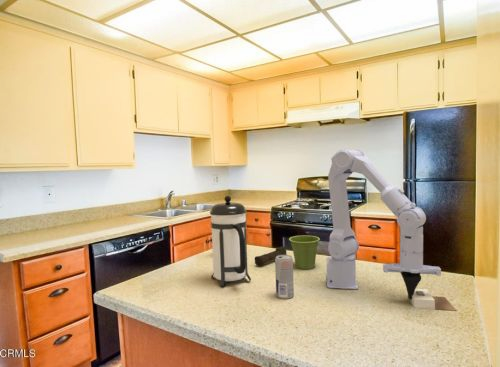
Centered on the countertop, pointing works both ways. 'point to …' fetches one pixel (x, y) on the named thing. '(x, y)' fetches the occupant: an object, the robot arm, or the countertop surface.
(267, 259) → the hand tool
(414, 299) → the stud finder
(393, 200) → the robot arm
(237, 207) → the coffee press
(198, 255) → the countertop surface
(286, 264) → the energy drink
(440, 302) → the brown flat slab
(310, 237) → the plant pot
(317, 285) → the countertop surface
